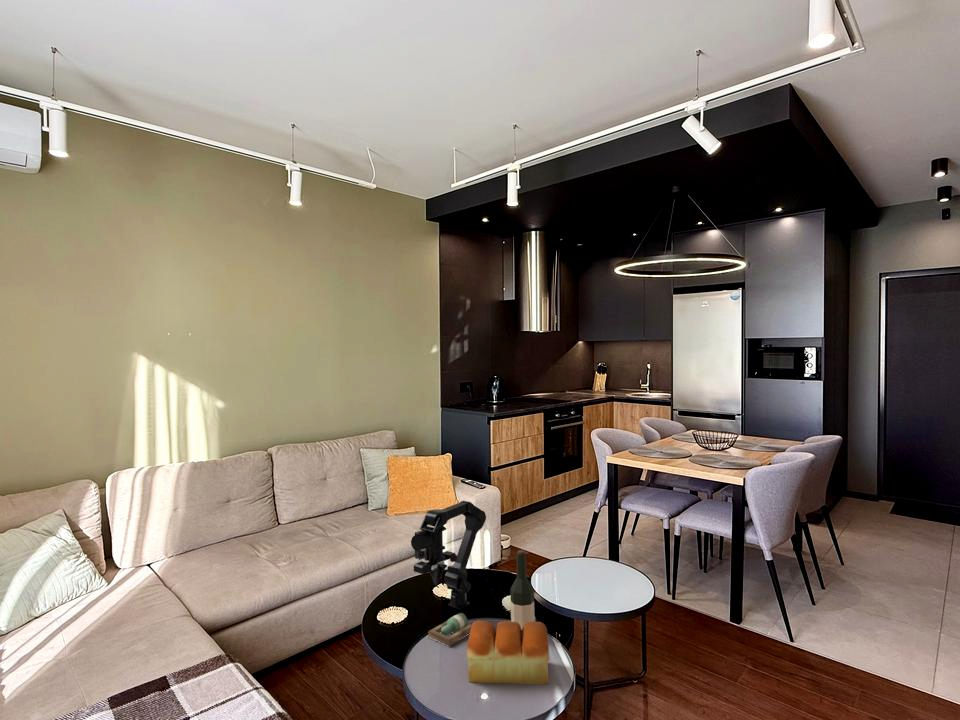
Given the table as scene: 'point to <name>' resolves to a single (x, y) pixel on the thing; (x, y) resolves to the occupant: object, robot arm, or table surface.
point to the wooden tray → (451, 639)
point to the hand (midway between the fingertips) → (436, 584)
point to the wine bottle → (522, 594)
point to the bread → (508, 653)
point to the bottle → (455, 624)
